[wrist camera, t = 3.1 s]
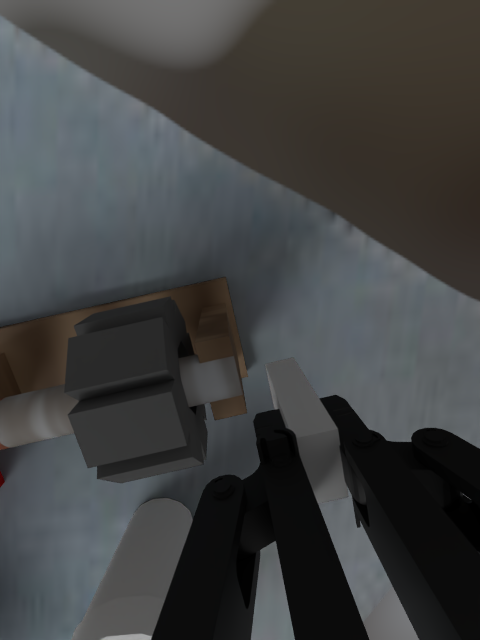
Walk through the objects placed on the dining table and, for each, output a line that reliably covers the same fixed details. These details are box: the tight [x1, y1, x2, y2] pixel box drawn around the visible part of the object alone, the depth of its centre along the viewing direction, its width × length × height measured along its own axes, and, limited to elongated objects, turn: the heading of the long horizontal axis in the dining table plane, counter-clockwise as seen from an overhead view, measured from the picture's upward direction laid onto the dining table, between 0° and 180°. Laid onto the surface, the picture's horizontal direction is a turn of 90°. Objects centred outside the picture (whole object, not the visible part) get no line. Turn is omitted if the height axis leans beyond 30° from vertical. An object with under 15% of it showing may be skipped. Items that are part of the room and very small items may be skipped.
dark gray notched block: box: [64, 296, 207, 483], centre depth 21 cm, size 5×10×10 cm, turn 12°
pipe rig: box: [0, 277, 248, 450], centre depth 24 cm, size 22×9×12 cm, turn 102°
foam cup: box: [71, 498, 193, 640], centre depth 28 cm, size 10×9×13 cm
